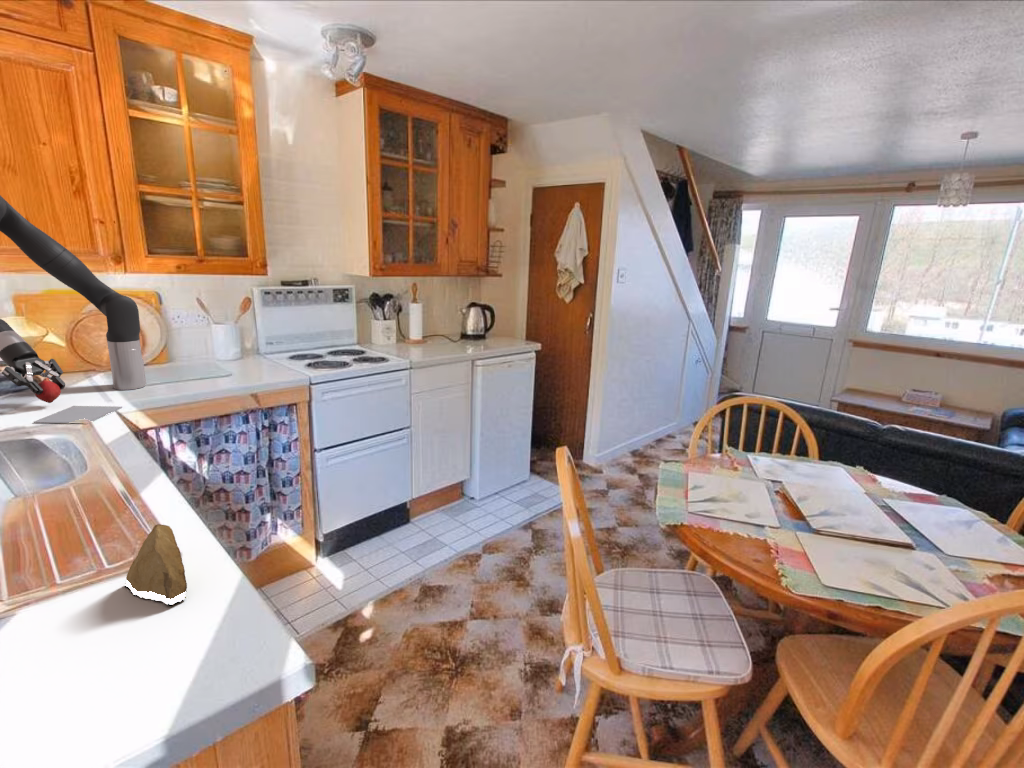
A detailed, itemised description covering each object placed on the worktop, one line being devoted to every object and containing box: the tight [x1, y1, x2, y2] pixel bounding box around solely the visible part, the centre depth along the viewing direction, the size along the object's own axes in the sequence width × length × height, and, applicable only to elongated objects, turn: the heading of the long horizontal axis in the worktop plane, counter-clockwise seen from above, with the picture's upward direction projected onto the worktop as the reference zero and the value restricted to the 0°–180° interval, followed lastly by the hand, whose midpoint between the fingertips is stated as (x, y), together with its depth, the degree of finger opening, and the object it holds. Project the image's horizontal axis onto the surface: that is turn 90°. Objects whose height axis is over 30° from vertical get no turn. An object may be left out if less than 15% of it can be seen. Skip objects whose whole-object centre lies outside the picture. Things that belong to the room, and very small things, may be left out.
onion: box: [34, 377, 62, 404], centre depth 153 cm, size 6×6×8 cm
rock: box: [126, 523, 188, 599], centre depth 75 cm, size 11×9×10 cm
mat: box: [33, 405, 123, 423], centre depth 149 cm, size 16×14×1 cm
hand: (52, 390), depth 153 cm, fingers closed on onion, 6 cm apart
